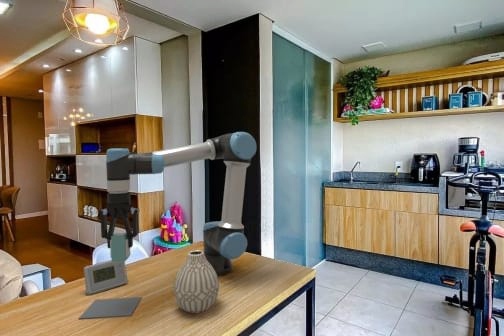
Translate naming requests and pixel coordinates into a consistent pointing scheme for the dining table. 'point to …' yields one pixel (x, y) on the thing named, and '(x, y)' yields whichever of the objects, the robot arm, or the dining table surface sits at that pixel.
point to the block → (118, 247)
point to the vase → (196, 284)
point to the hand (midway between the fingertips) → (120, 256)
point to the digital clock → (104, 276)
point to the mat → (111, 308)
